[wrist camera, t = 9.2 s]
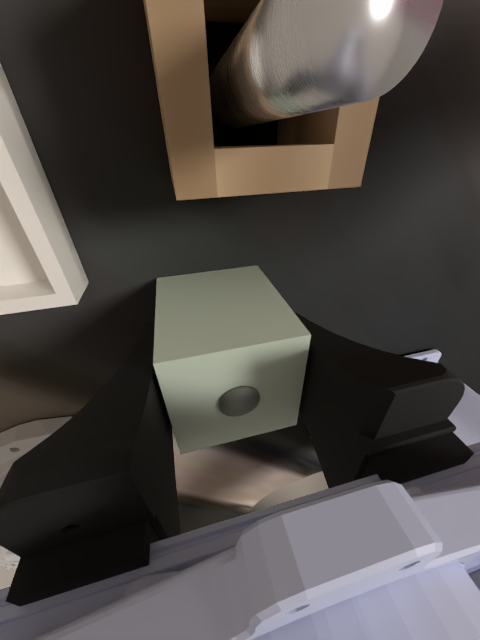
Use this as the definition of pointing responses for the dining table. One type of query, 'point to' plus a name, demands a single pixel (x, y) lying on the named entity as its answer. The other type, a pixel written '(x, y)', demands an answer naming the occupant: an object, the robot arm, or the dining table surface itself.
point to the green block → (227, 356)
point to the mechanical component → (11, 447)
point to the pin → (318, 56)
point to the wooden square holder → (244, 160)
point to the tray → (31, 224)
